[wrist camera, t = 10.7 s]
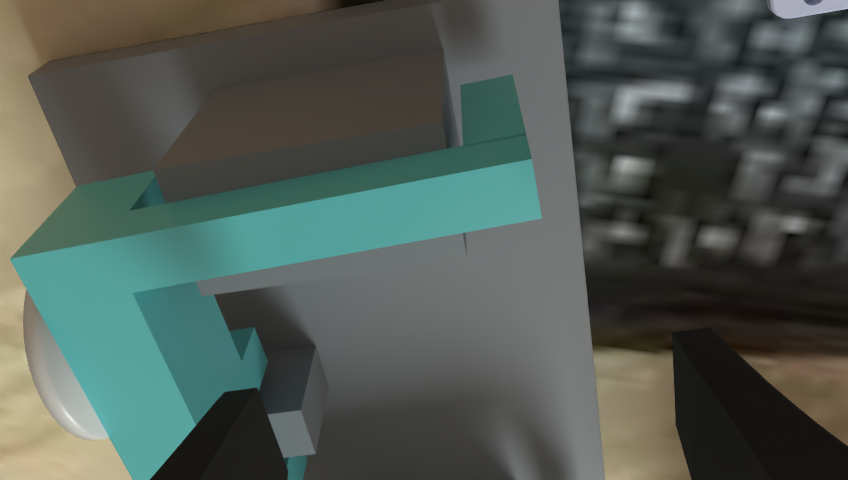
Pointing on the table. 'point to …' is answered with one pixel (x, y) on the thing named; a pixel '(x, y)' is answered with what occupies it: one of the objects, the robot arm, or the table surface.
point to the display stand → (383, 267)
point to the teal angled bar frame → (230, 272)
